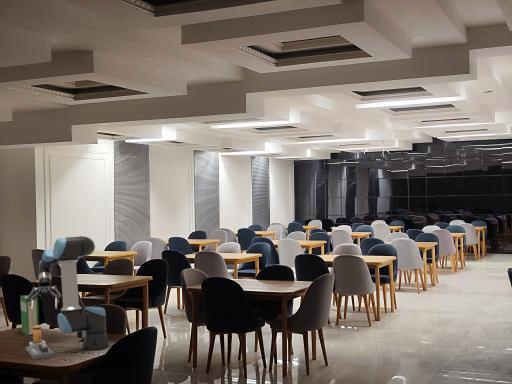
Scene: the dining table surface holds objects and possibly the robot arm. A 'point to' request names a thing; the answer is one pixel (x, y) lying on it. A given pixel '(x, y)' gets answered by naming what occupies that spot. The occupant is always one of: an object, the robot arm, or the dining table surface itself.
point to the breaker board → (39, 350)
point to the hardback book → (28, 315)
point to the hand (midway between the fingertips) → (44, 308)
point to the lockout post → (37, 334)
